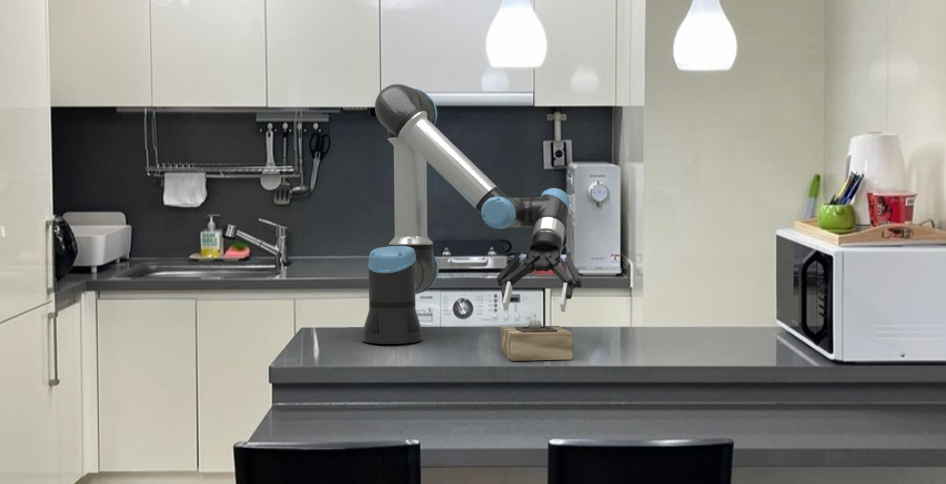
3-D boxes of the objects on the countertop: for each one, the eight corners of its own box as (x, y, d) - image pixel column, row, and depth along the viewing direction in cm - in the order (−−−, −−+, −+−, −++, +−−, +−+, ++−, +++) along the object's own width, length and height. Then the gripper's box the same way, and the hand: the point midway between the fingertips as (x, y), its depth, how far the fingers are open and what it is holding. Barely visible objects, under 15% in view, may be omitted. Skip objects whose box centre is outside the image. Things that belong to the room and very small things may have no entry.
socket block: (500, 351, 231) (500, 325, 231) (557, 350, 233) (557, 324, 233) (511, 360, 217) (511, 332, 217) (572, 359, 219) (572, 331, 219)
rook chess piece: (542, 357, 223) (543, 323, 222) (523, 356, 223) (524, 322, 223) (545, 353, 227) (545, 320, 226) (526, 352, 228) (526, 319, 227)
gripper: (599, 251, 235) (588, 319, 222) (500, 250, 242) (484, 315, 229) (595, 230, 230) (585, 298, 216) (495, 229, 237) (478, 295, 223)
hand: (533, 307), depth 222 cm, fingers open, 13 cm apart
